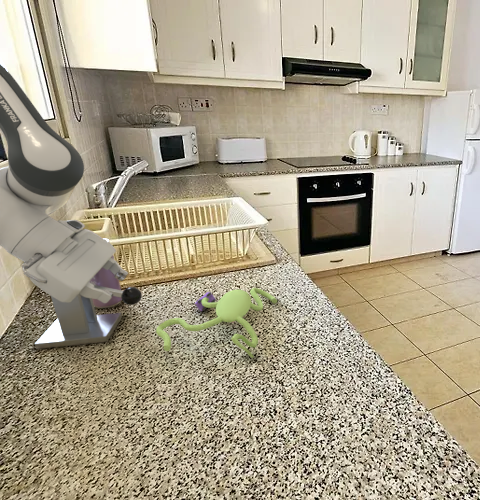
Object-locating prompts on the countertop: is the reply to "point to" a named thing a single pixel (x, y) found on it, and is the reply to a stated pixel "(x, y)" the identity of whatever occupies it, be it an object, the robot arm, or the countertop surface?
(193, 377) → the countertop surface
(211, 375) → the countertop surface
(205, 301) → the figurine
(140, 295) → the faucet lever
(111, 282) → the beverage can
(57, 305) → the bracket
